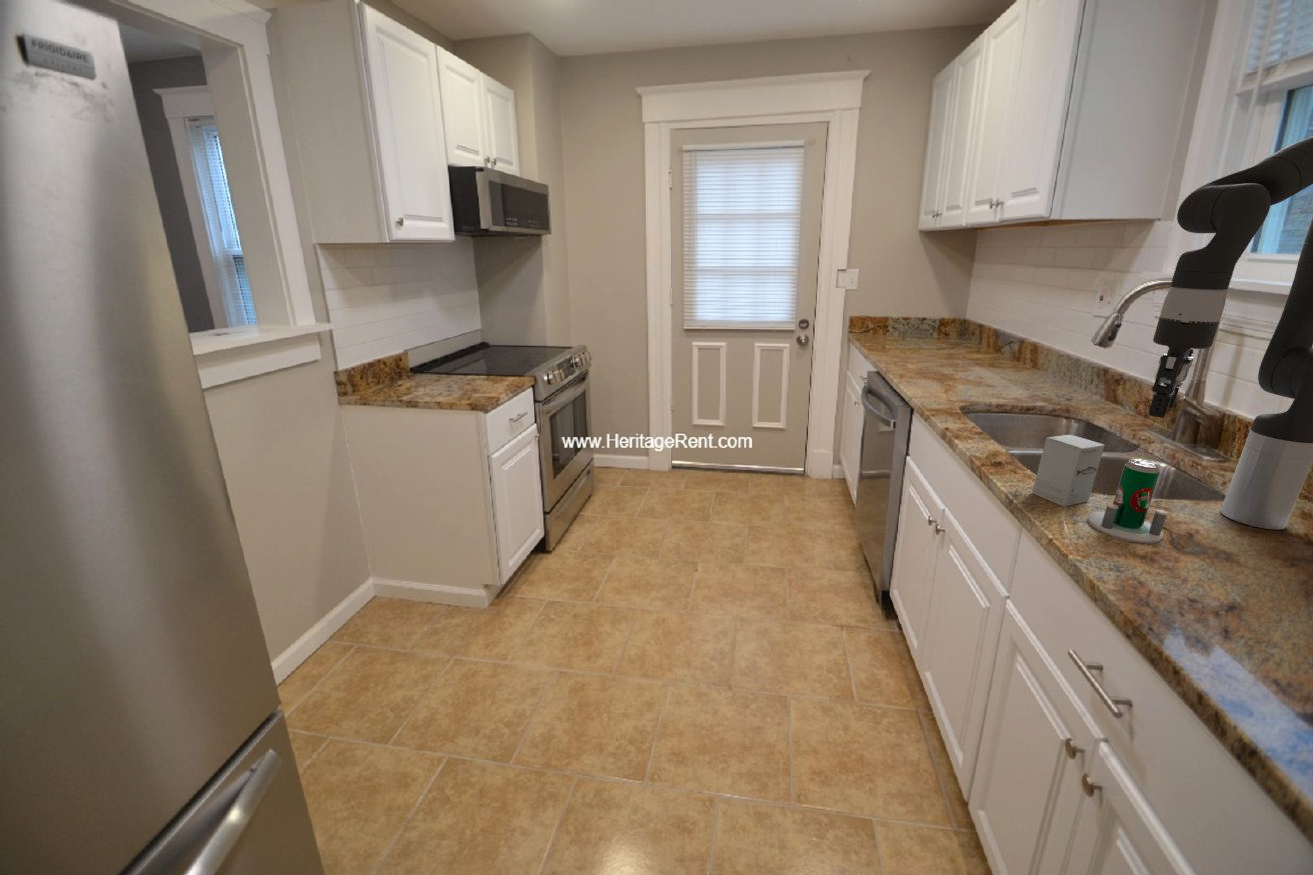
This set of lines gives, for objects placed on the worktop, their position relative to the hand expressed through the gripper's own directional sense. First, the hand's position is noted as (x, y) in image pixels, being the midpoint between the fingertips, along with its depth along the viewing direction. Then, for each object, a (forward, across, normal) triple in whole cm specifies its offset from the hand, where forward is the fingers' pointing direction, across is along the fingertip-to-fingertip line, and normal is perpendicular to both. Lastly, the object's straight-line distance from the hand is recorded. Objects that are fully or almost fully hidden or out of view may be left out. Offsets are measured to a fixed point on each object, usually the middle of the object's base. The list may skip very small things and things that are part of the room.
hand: (1160, 411), depth 101 cm
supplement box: (+23, -7, -12) cm, 27 cm away
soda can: (+22, 0, 0) cm, 22 cm away
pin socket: (+23, 0, 0) cm, 23 cm away
